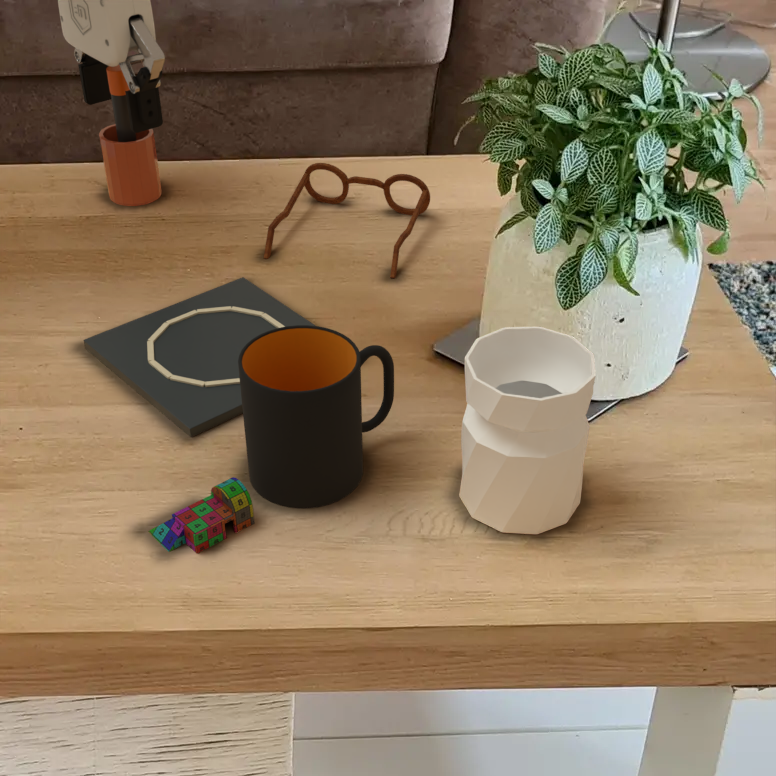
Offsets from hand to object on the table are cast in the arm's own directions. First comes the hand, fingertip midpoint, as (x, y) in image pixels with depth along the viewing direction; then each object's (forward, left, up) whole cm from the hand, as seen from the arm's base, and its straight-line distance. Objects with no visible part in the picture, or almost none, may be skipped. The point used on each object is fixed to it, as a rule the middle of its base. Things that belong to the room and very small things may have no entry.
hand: (123, 113), depth 114 cm
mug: (-12, -47, -9) cm, 49 cm away
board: (-10, -30, -9) cm, 33 cm away
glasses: (+11, -21, -9) cm, 25 cm away
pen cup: (0, 0, -9) cm, 9 cm away
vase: (-4, -59, -9) cm, 60 cm away
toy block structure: (-23, -47, -9) cm, 53 cm away
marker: (0, 0, -8) cm, 8 cm away
